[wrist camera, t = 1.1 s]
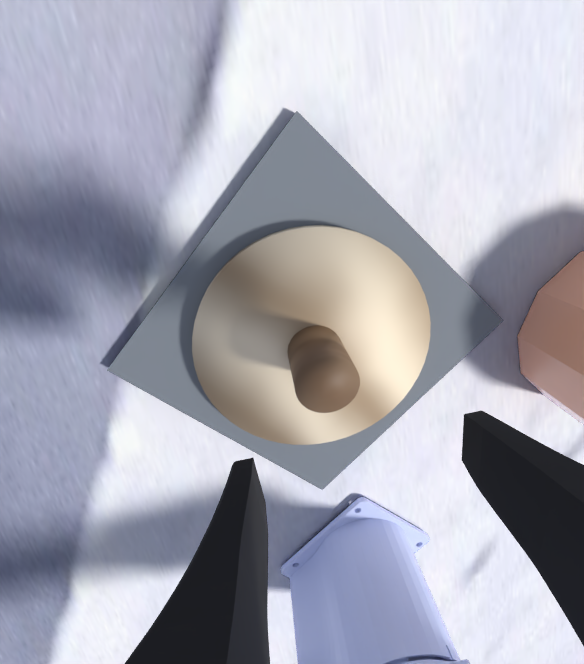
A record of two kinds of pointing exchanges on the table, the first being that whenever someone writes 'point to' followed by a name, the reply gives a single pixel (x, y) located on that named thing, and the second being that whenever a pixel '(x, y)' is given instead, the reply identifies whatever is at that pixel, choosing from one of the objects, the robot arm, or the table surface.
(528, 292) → the table surface
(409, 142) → the table surface
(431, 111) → the table surface
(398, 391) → the lid
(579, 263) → the bowl
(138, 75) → the table surface
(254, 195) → the mat
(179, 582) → the robot arm
